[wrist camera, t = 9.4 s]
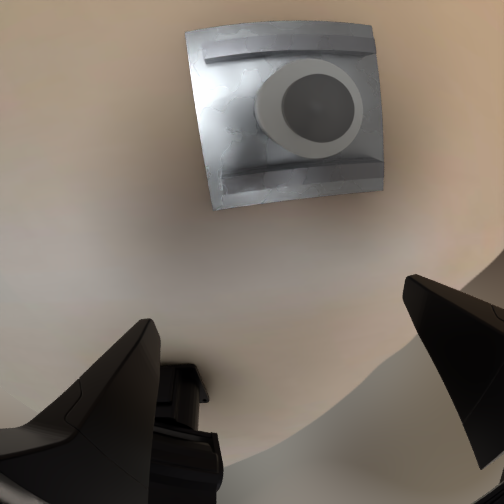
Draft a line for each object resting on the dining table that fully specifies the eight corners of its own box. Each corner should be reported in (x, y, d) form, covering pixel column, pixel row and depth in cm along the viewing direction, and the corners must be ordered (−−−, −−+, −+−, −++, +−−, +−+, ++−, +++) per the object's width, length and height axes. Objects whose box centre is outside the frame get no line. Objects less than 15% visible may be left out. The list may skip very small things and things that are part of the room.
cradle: (379, 188, 20) (396, 198, 17) (213, 207, 20) (211, 221, 17) (367, 27, 14) (384, 19, 12) (186, 34, 14) (179, 24, 12)
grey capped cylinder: (336, 143, 17) (374, 158, 12) (259, 150, 17) (271, 167, 12) (329, 69, 15) (366, 57, 10) (249, 73, 15) (257, 57, 10)
